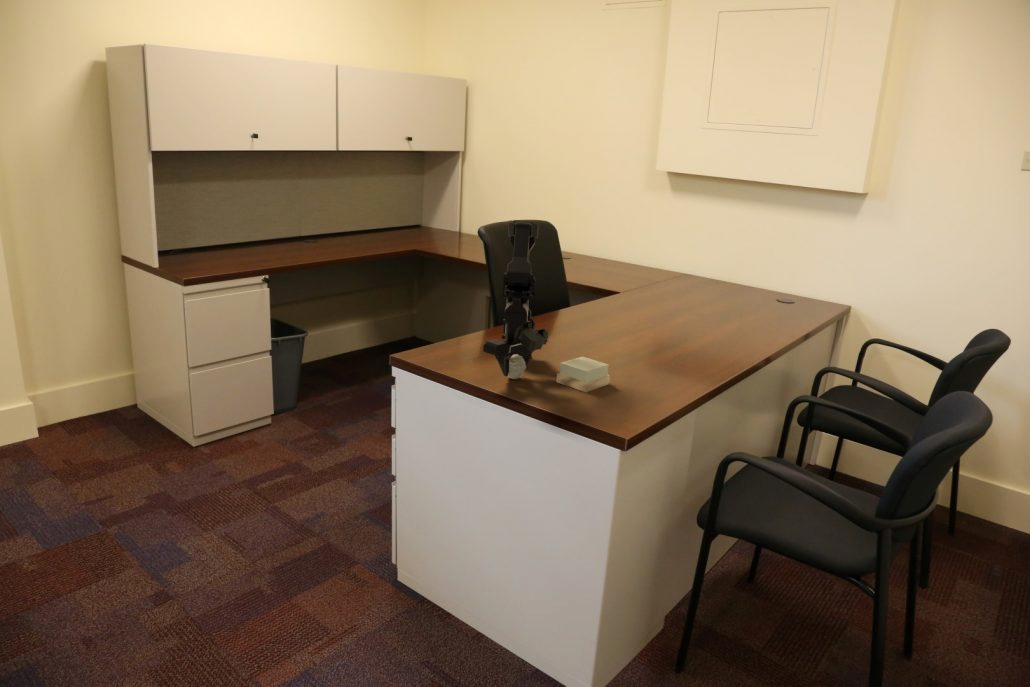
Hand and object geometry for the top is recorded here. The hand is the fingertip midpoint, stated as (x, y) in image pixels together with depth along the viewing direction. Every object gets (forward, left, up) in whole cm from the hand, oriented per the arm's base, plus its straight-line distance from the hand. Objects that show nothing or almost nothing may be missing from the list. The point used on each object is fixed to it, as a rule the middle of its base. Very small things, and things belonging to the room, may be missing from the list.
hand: (514, 373), depth 192 cm
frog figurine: (0, 0, -2) cm, 2 cm away
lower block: (+14, +12, -2) cm, 18 cm away
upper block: (+14, +12, +1) cm, 18 cm away
